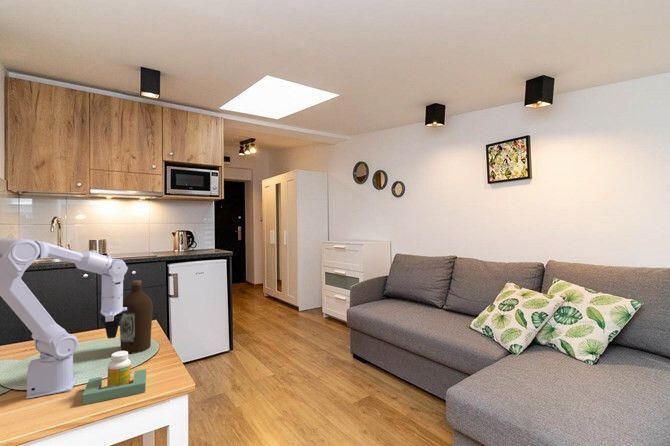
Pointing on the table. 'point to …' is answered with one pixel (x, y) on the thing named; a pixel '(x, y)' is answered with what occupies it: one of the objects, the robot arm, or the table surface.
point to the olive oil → (136, 320)
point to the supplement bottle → (119, 369)
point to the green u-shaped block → (113, 389)
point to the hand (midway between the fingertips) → (111, 337)
